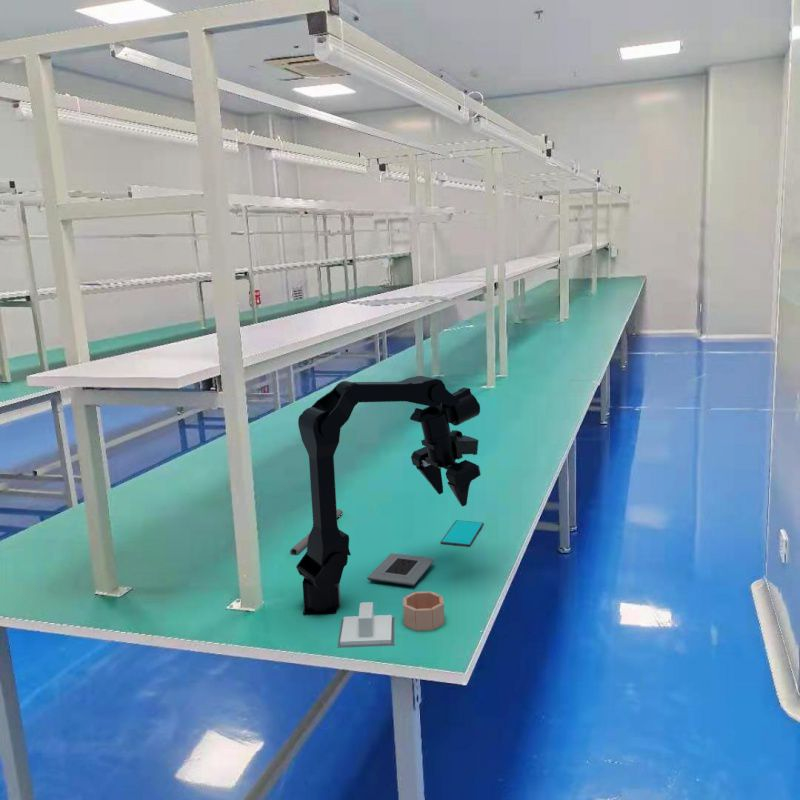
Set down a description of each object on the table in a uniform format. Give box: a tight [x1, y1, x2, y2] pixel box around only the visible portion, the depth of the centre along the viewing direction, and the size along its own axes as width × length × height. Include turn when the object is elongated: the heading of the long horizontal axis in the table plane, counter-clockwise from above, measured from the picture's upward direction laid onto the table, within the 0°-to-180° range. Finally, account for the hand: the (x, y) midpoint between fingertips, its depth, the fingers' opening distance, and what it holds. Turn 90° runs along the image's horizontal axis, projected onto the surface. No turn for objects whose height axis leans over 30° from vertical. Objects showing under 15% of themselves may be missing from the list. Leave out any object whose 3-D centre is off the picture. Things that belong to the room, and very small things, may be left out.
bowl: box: [402, 590, 445, 632], centre depth 135 cm, size 8×8×4 cm
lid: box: [340, 601, 393, 646], centre depth 132 cm, size 9×9×4 cm
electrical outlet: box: [366, 552, 436, 587], centre depth 156 cm, size 13×10×2 cm
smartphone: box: [440, 520, 485, 548], centre depth 178 cm, size 7×1×15 cm
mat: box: [336, 617, 396, 649], centre depth 132 cm, size 10×10×1 cm
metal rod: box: [289, 508, 344, 556], centre depth 182 cm, size 2×27×2 cm, turn 162°
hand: (452, 499), depth 157 cm, fingers open, 9 cm apart
